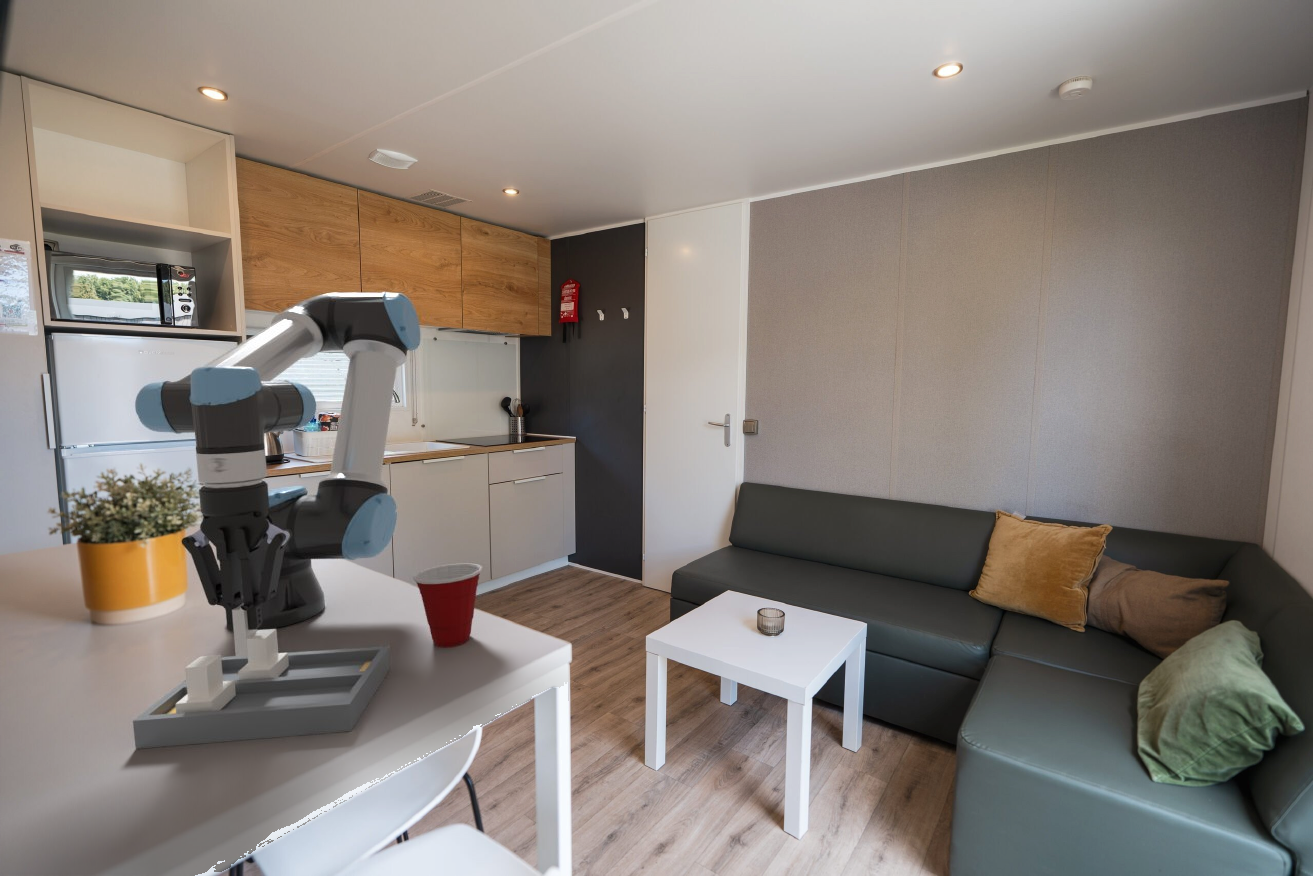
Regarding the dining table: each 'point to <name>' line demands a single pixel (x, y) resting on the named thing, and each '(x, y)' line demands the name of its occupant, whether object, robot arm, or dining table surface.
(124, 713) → the dining table surface
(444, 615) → the plastic cup
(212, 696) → the tab
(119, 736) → the dining table surface
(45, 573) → the dining table surface
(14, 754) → the dining table surface
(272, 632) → the tab
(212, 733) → the grey divided tray
